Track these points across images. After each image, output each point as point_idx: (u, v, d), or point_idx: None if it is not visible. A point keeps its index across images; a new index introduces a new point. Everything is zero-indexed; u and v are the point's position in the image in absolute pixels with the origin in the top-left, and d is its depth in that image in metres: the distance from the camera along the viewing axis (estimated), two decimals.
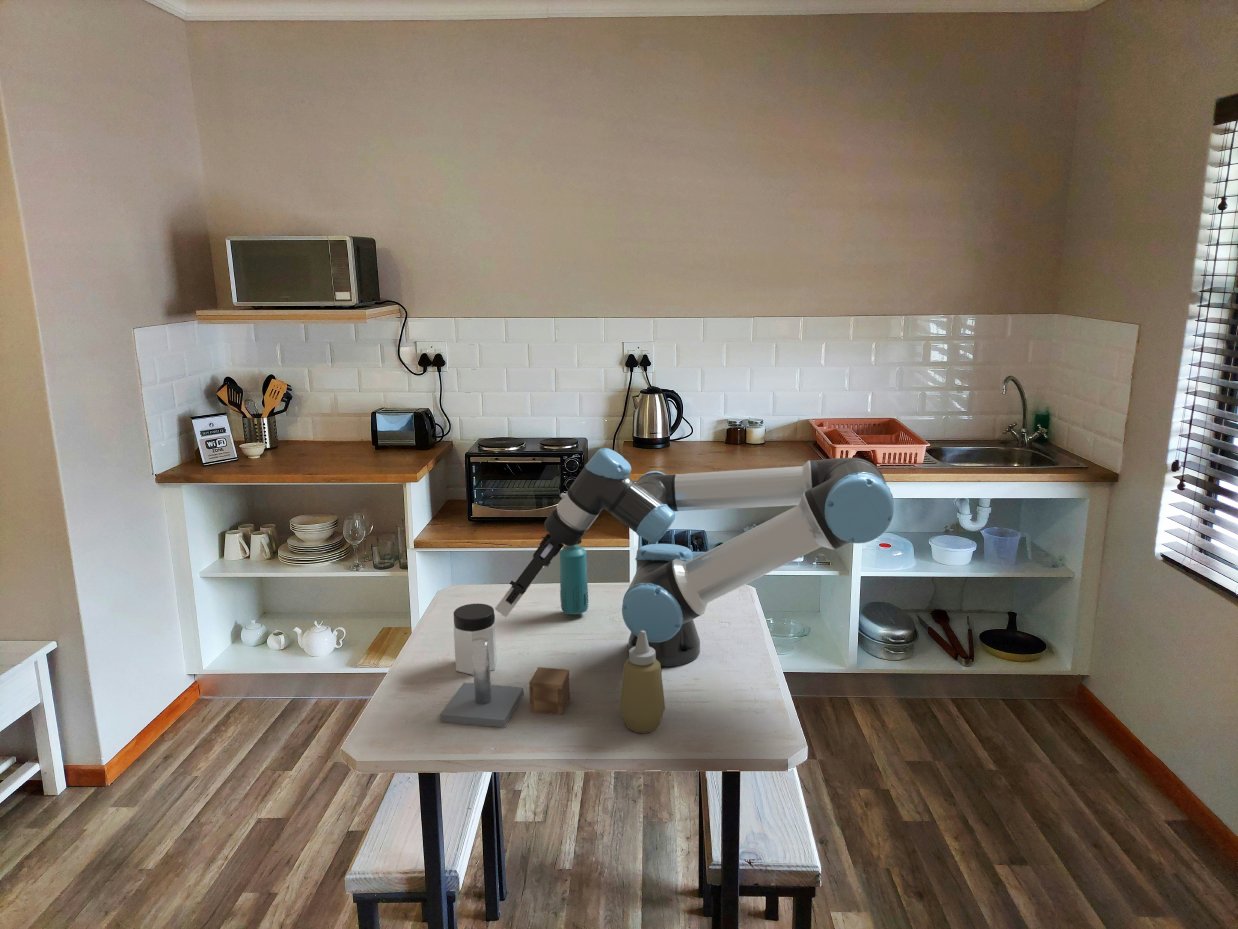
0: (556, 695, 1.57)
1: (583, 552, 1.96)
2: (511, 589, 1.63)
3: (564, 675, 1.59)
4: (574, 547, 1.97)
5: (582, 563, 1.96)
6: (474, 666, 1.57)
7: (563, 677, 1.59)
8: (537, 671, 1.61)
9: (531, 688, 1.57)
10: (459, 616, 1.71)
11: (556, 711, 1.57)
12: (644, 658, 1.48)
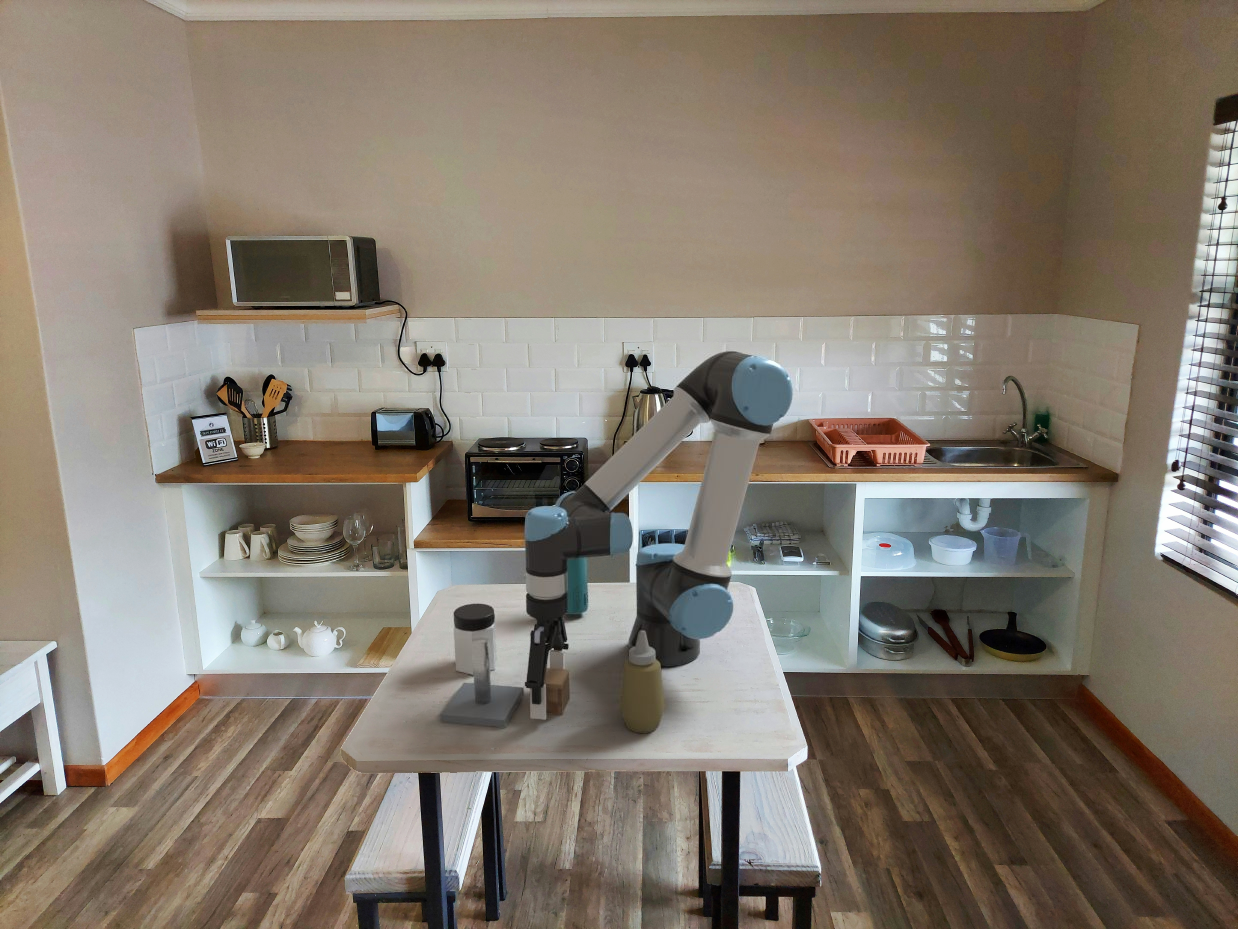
0: (556, 695, 1.57)
1: None
2: (531, 690, 1.52)
3: (564, 675, 1.59)
4: None
5: (582, 563, 1.96)
6: (474, 666, 1.57)
7: (563, 677, 1.59)
8: None
9: None
10: (459, 616, 1.71)
11: (556, 711, 1.57)
12: (644, 658, 1.48)
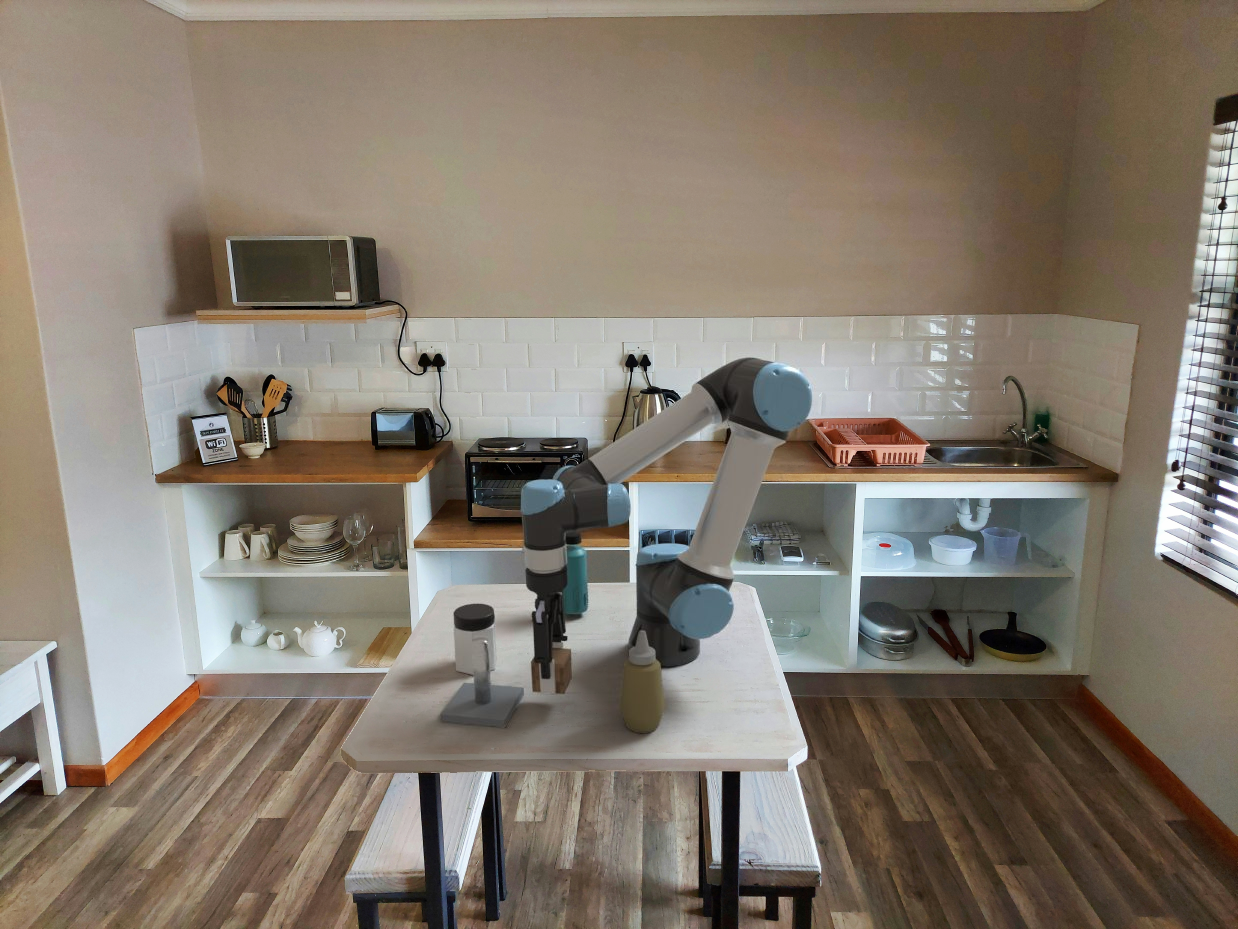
0: (558, 674, 1.56)
1: (583, 552, 1.96)
2: (540, 665, 1.55)
3: (566, 654, 1.58)
4: (574, 547, 1.97)
5: (582, 563, 1.96)
6: (474, 666, 1.57)
7: (565, 656, 1.58)
8: None
9: (533, 668, 1.56)
10: (459, 616, 1.71)
11: (558, 690, 1.57)
12: (644, 658, 1.48)
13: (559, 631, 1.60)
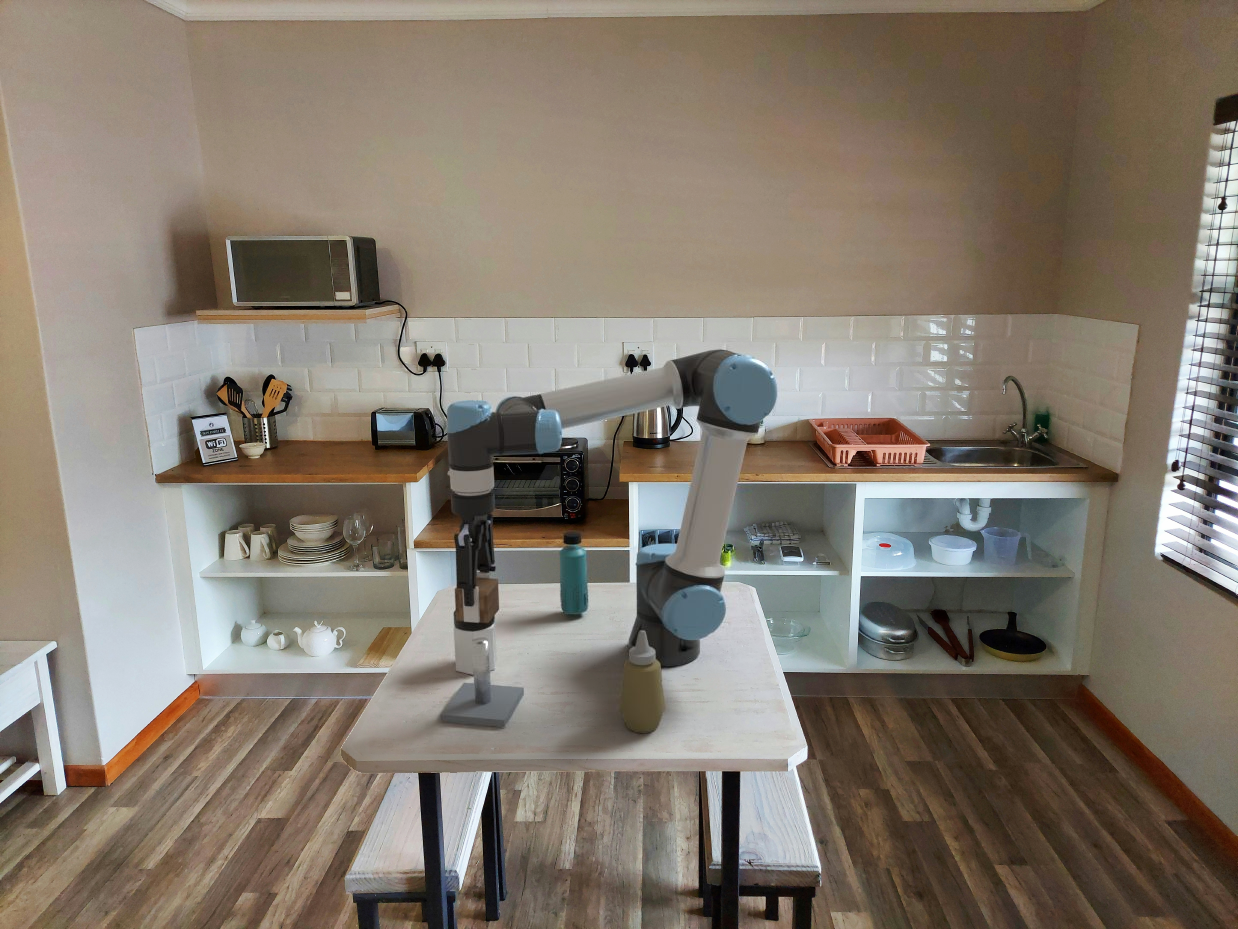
0: (482, 602, 1.51)
1: (583, 552, 1.96)
2: None
3: (492, 583, 1.54)
4: (574, 547, 1.97)
5: (582, 563, 1.96)
6: (474, 666, 1.57)
7: (490, 585, 1.53)
8: None
9: (457, 595, 1.52)
10: None
11: (482, 619, 1.52)
12: (644, 658, 1.48)
13: (486, 560, 1.56)
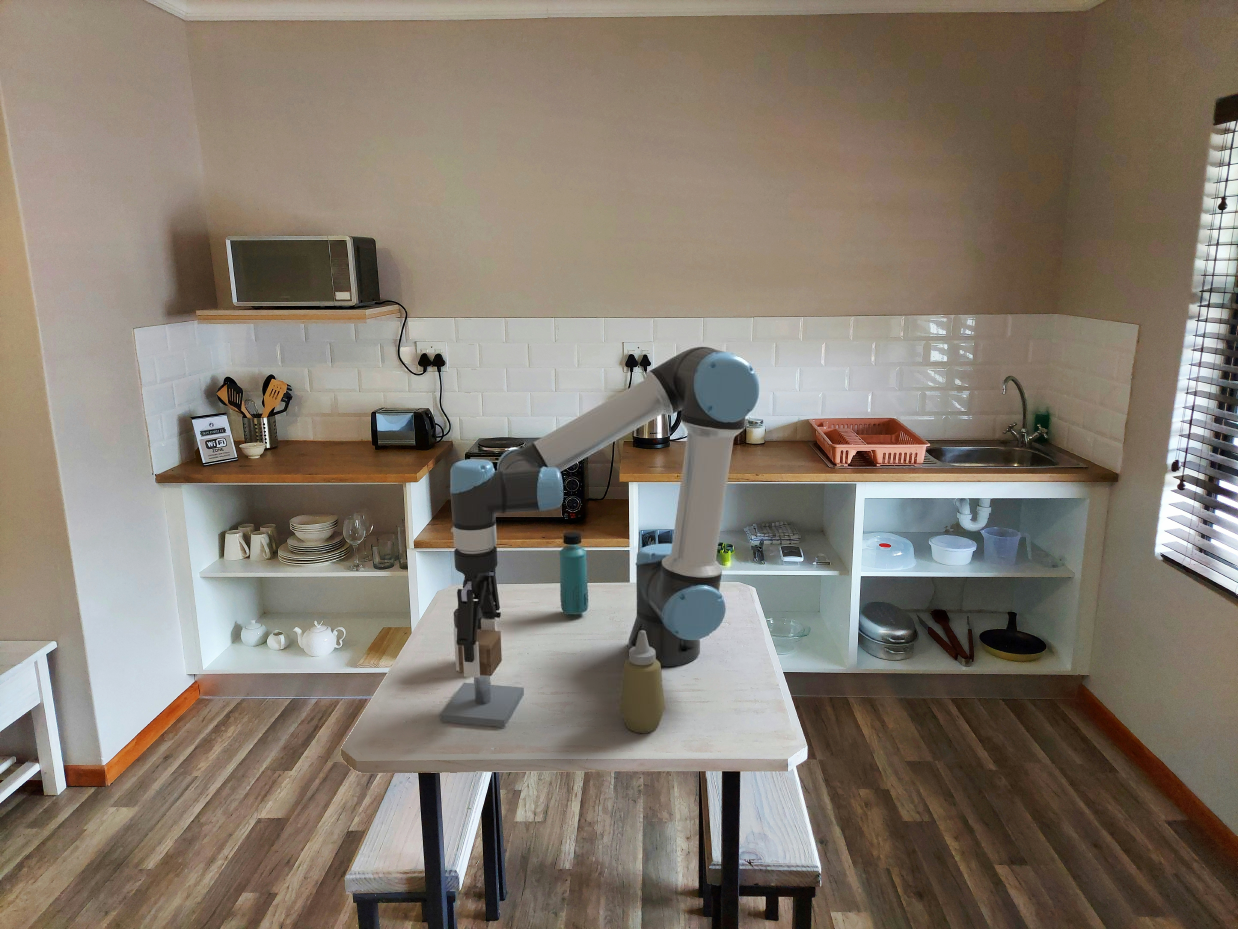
0: (485, 656, 1.54)
1: (583, 552, 1.96)
2: None
3: (494, 636, 1.57)
4: (574, 547, 1.97)
5: (582, 563, 1.96)
6: None
7: (493, 638, 1.56)
8: None
9: (460, 649, 1.54)
10: None
11: (485, 672, 1.55)
12: (644, 658, 1.48)
13: (491, 609, 1.60)
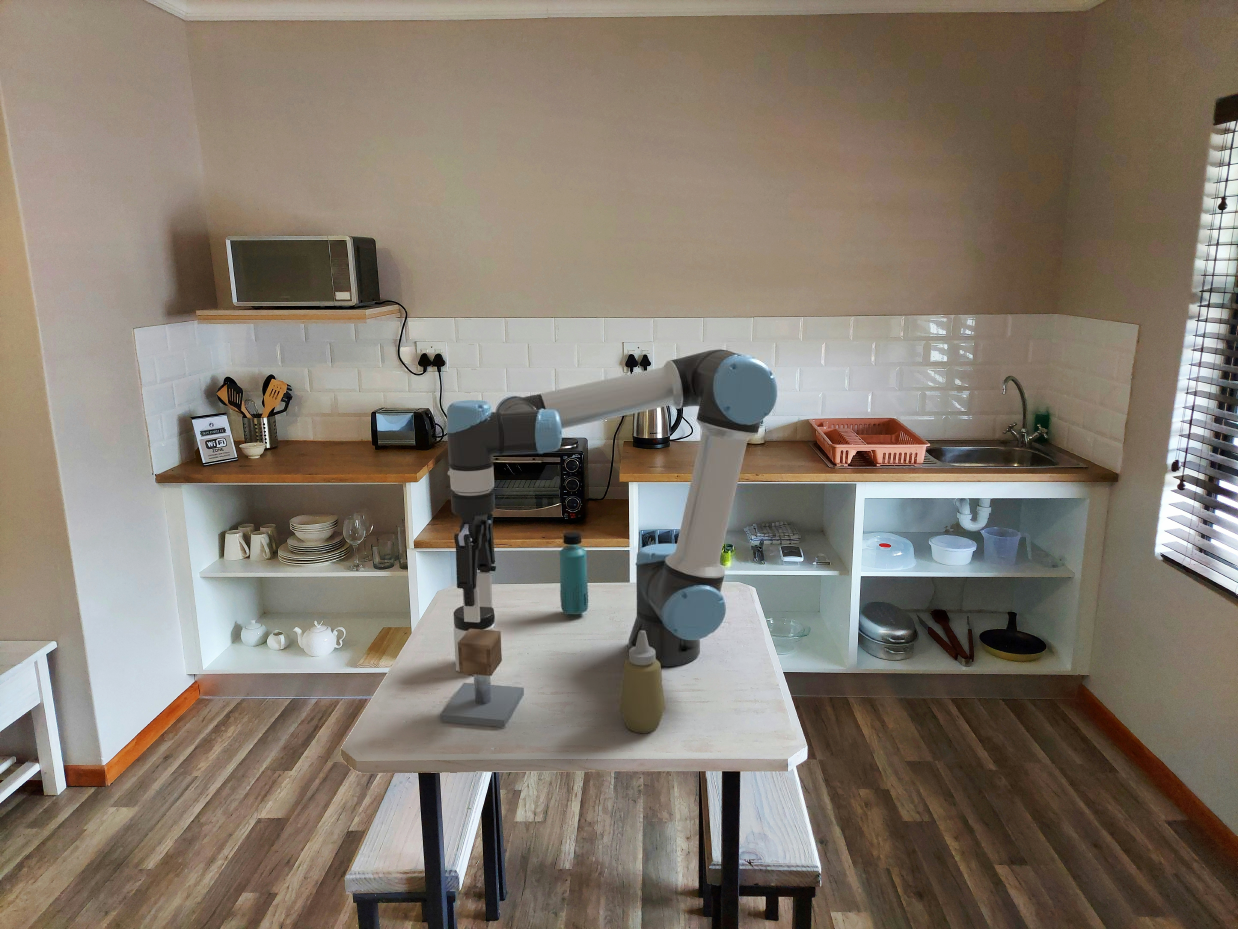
0: (485, 656, 1.54)
1: (583, 552, 1.96)
2: None
3: (494, 636, 1.57)
4: (574, 547, 1.97)
5: (582, 563, 1.96)
6: None
7: (493, 638, 1.56)
8: (468, 632, 1.58)
9: (460, 649, 1.54)
10: (459, 616, 1.71)
11: (485, 672, 1.55)
12: (644, 658, 1.48)
13: (487, 560, 1.56)
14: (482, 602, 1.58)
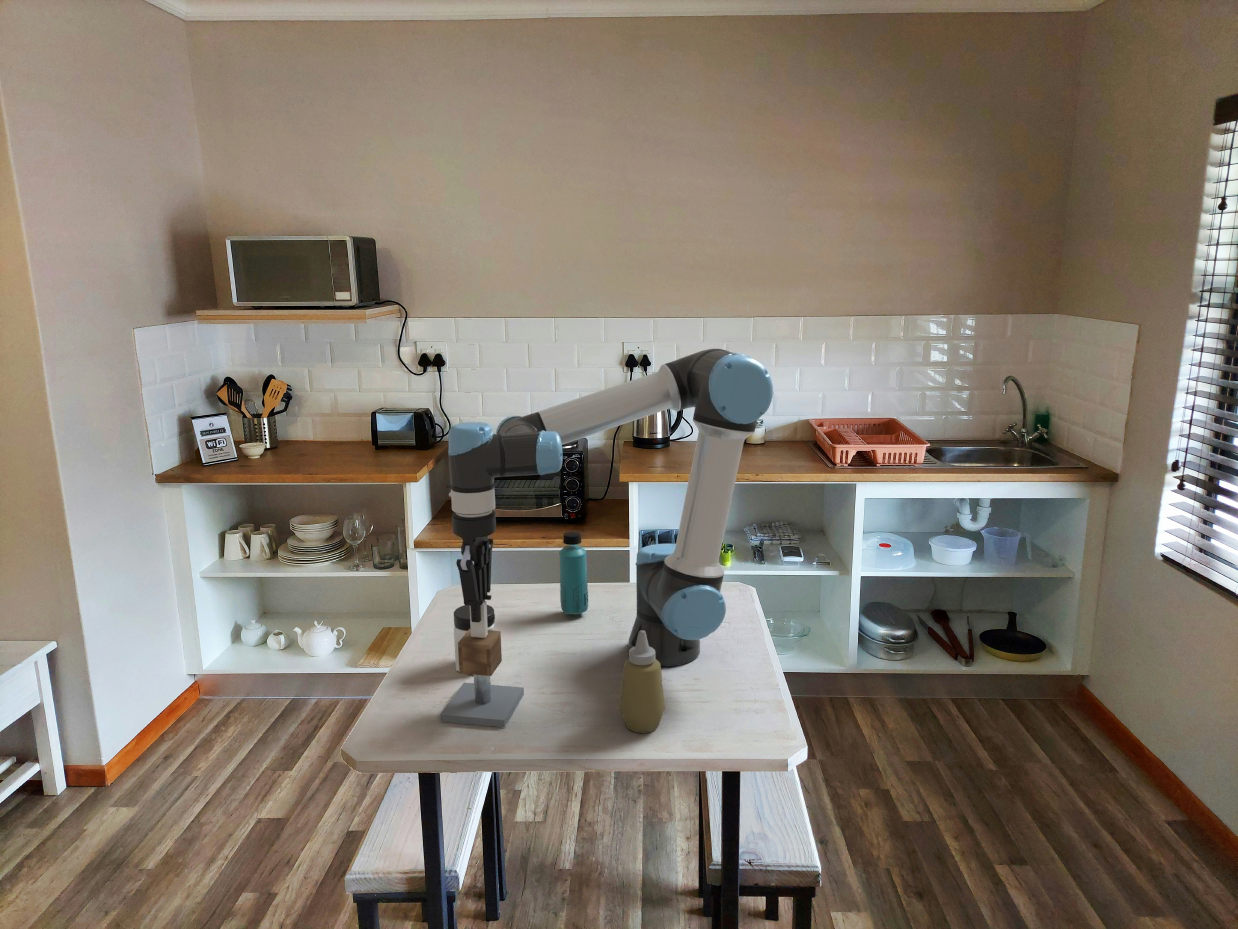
0: (485, 656, 1.54)
1: (583, 552, 1.96)
2: None
3: (494, 636, 1.57)
4: (574, 547, 1.97)
5: (582, 563, 1.96)
6: None
7: (493, 638, 1.56)
8: (468, 632, 1.58)
9: (460, 649, 1.54)
10: (459, 616, 1.71)
11: (485, 672, 1.55)
12: (644, 658, 1.48)
13: (483, 586, 1.55)
14: None
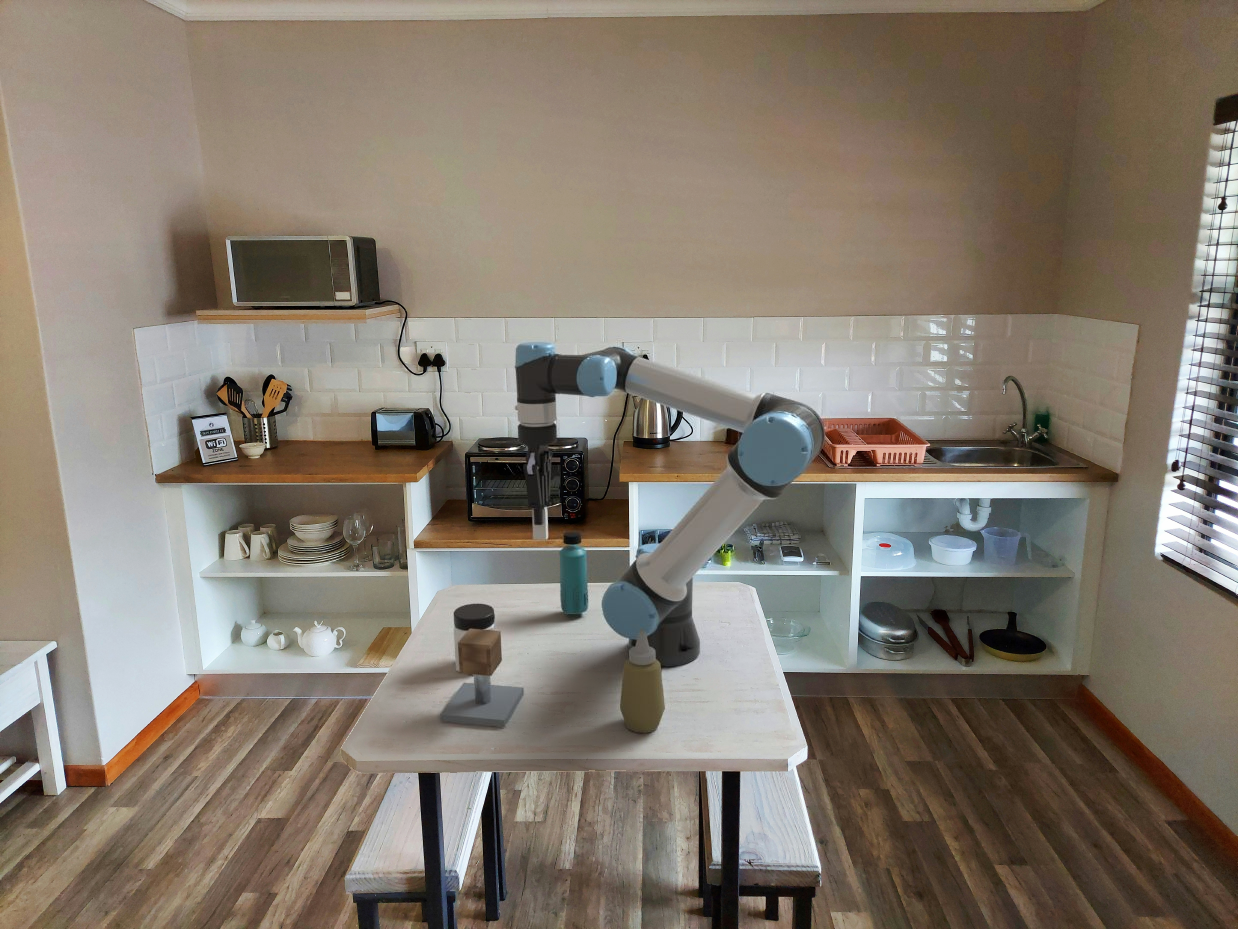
0: (485, 656, 1.54)
1: (583, 552, 1.96)
2: (534, 513, 1.71)
3: (494, 636, 1.57)
4: (574, 547, 1.97)
5: (582, 563, 1.96)
6: None
7: (493, 638, 1.56)
8: (468, 632, 1.58)
9: (460, 649, 1.54)
10: (459, 616, 1.71)
11: (485, 672, 1.55)
12: (644, 658, 1.48)
13: (544, 492, 1.71)
14: None
